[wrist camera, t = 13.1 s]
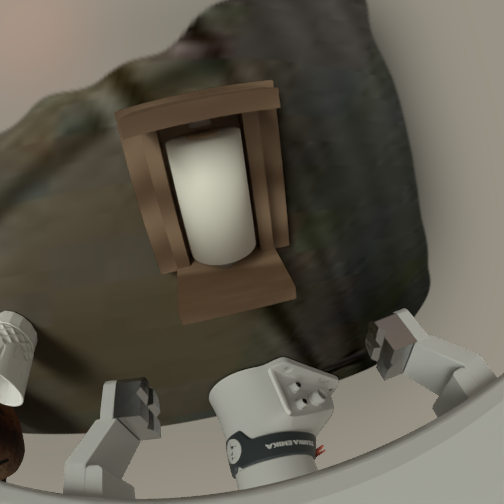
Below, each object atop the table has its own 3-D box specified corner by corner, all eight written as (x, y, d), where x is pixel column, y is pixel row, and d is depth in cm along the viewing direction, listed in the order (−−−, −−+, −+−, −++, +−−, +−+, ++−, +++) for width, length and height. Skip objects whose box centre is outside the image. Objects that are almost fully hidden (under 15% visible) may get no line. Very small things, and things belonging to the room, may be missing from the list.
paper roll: (249, 226, 29) (262, 257, 24) (191, 238, 28) (193, 272, 24) (233, 122, 23) (246, 132, 19) (167, 135, 23) (162, 149, 18)
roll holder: (285, 238, 32) (319, 294, 24) (162, 266, 31) (159, 332, 23) (267, 80, 23) (310, 80, 15) (118, 110, 22) (84, 125, 14)
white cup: (-10, 299, 27) (-40, 356, 19) (40, 316, 30) (17, 379, 22) (-2, 339, 31) (-23, 393, 22) (43, 355, 34) (28, 413, 25)
